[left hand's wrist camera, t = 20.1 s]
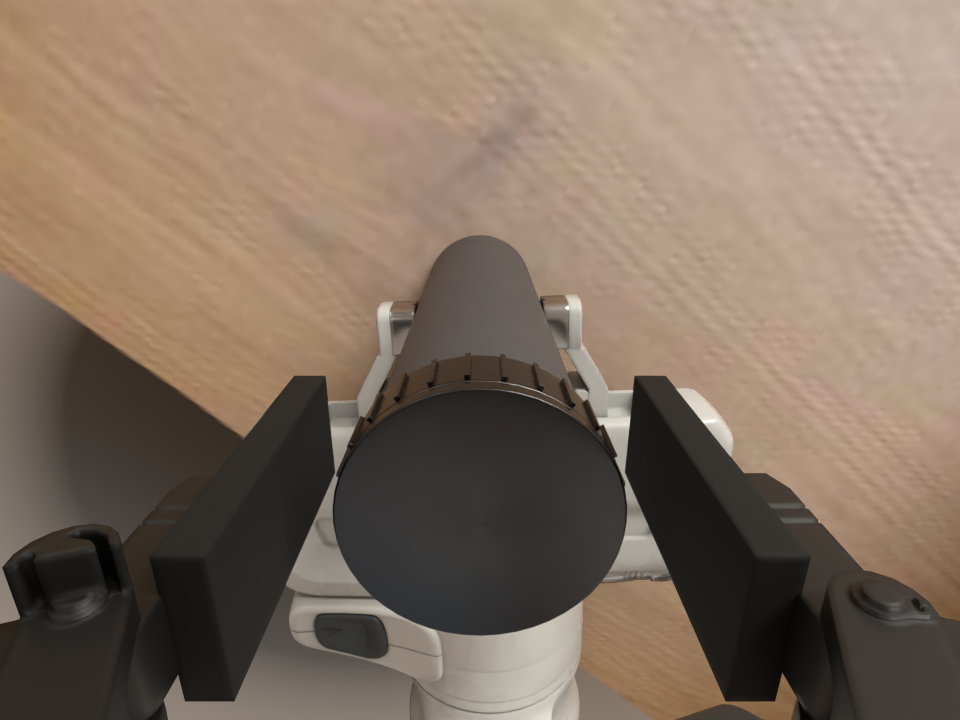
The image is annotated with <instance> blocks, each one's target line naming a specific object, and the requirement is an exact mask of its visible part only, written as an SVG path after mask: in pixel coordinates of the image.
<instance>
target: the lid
mask: <svg viewBox="0 0 960 720" xmlns="http://www.w3.org/2000/svg"><path fill="white" fill-rule="evenodd" d="M615 457H617V453H616V451H615V449H614V447H613V444H612V442H611V440H610V438H609V435H608V433H607V431H606V429H605V426H604V425H601V426H600V425H599V423H598V420H597V418H596V416H595V413H594V411H593V409H592V406H591V404H590V402H589V401H588V400H587V399H586V400H585V401H583V400H582V399H581V397H580V396H579V395H578V394H577V393H576V392H575V391H574V390H573V389H571V388H570V387H569V384H568V381H567V380H566V379H564V378H563V379H562V380H560V379H558V378H557V377H555V376H553V375H552V374H550V373H549V372H547V371H545V370H542V369H540V368H539V364H537V363H533V365H531V364H528V363H525V362H521V361H518V360H515V359H510V358H506V355H505V354H500V357H498V356H483V355H475V356H471V353H465V356H461V357H456V358H451V359H445V360H441V361H437V359H434V360H432V361H431V364H429V365H426V366H424V367H422V368H420V369H418V370H415V371H413V372H411V373H409V374H408V375H407V373H406V372H405V373H403V374H401V377H400V380H399V381H397V382H396V383H394V384H393V385H392V386H391V387H390V388H388V389H387V390H386V391H385V392H384V393H383V394H382V393H381V392H379V393H378V394H377V395H376V397H375V400H374V402H373V405H372V406H371V408H370V409H369V411H368V413H367V414H366V416H365V417H362V416H360V418H359V420H358V422H357V424H356V427H355V429H354V431H353V433H352V436H351V438H350V440H349V442H348V445H347V450H346V452H345V454H344V457H343V459H342V461H341V464H340V466H339V468H338V470H337V473H336V477H338V480H337V484H336V487H335V491H334V499H333V525H334V530H335V535H336V540H337V543H338V546H339V548H340V551H341V554H342V556H343V558H344V560H345V562H346V564H347V566H348V568H349V569H350V571H351V572H352V574H353V575H354V576H355V578H356V579H357V581H358V582H359V583H360V584H361V585H362V586H363V588H364V589H365V590H366V591H367V592H368V593H369V594H370V595H371V596H372V597H374V598H375V599H376V600H377V601H379V602H380V603H381V604H382V605H383V606H385V607H386V608H388V609H390V610H391V611H393V612H394V613H396V614H397V615H399V616H401V617H403V618H405V619H407V620H409V621H411V622H414V623H416V624H419V625H422V626H424V627H427V628H430V629H434V630H438V631H442V632H446V633H453V634H460V635H475V636H486V635H500V634H507V633H513V632H518V631H522V630H525V629H529V628H533V627H535V626H538V625H541V624H543V623H546V622H548V621H551V620H552V619H554V618H556V617H558V616H560V615H562V614H564V613H566V612H567V611H569V610H570V609H572V608H573V607H575V606H576V605H578V604H579V603H580V602H581V601H582V600H584V599H585V598H586V597H587V596H588V595H589V594H591V593H592V592H593V590H594V589H595V588H596V587H597V586H598V585H599V584H600V583H601V582H602V580H603V579H604V578H605V576H606V575H607V573H608V572H609V570H610V569H611V567H612V565H613V564H614V562H615V560H616V558H617V556H618V554H619V551H620V548H621V545H622V542H623V539H624V535H625V529H626V523H627V500H626V493H625V486H626V485H625V481H624V478H623V476H622V474H621V471H620V469H619V467H618V465H617V462H616V460H615Z"/></svg>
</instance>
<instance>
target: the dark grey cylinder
mask: <svg viewBox="0 0 960 720" xmlns="http://www.w3.org/2000/svg"><path fill="white" fill-rule="evenodd" d="M465 353H471V356H475V355H483V356H498V357H500V354H505V355H506V358H510V359H515V360H518V361H521V362H525V363H528V364H531V365H533V363H537V364H539V368H540V369H542V370H545V371H547V372H549V373H550V374H552V375H553V376H555V377H557V378H558V379H560V380H562V379H563V378H564V379H566V380H567V381H568V384H569V387H570V388H571V389H573V387H572V385H571V382H570V380H569V377H568V374H567V372H566V369H565V367H564V364H563V361H562V359H561V356H560V354H559V351H558V348H557V346H556V343H555V341H554V338H553V335H552V333H551V330H550V327H549V325H548V322H547V320H546V317H545V314H544V312H543V309H542V307H541V304H540V301H539V299H538V296H537V294H536V291H535V288H534V286H533V283H532V281H531V278H530V275H529V273H528V270H527V268H526V265H525V263H524V261H523V259H522V258H521V256H520V255H519V254H518V252H517V251H516V250H515V249H514V248H512V247H511V246H510V245H509V244H507V243H505V242H504V241H502V240H499V239H497V238H493V237H490V236H470V237H466V238H463V239H460V240H458V241H456V242H454V243H453V244H451V245H450V246H448V247H447V248H446V249H445V250H444V251H443V252H442V253H441V254H440V256H439V257H438V258H437V260H436V262H435V264H434V266H433V269H432V272H431V274H430V277H429V279H428V282H427V285H426V287H425V290H424V292H423V295H422V298H421V300H420V303H419V306H418V308H417V311H416V313H415V316H414V319H413V321H412V324H411V327H410V329H409V332H408V334H407V337H406V340H405V342H404V345H403V348H402V350H401V353H400V355H399V358H398V361H397V363H396V366H395V368H394V371H393V374H392V376H391V379H390V382H389V384H388V387H387V389H388V388H390V387H391V386H392V385H393V384H394V383H396V382H397V381H399V380H400V377H401V374H403V373H405V372H406V373H407V375H408V374H409V373H411V372H413V371H415V370H418V369H420V368H422V367H424V366H426V365H429V364H431V361H432V360H434V359H437V361H441V360H445V359H451V358H456V357H461V356H465ZM387 389H386V390H387Z"/></svg>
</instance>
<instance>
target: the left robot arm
mask: <svg viewBox="0 0 960 720" xmlns="http://www.w3.org/2000/svg"><path fill="white" fill-rule="evenodd" d="M334 474H335V465H334V455H333V446H332V436H331V426H330V416H329V407H328V397H327V387H326V377H325V376H294V377H293V378H292V379H291V381H290V382H289V383H288V384H287V386H286V387H285V388H284V389H283V391H282V392H281V393H280V394H279V396H278V397H277V398H276V399H275V401H274V402H273V403H272V404H271V406H270V407H269V408H268V409H267V411H266V412H265V413H264V414H263V416H262V417H261V418H260V419H259V421H258V422H257V423H256V424H255V426H254V427H253V428H252V429H251V431H250V432H249V433H248V434H247V436H246V437H245V438H244V439H243V440H242V442H241V443H240V444H239V446H238V447H237V448H236V449H235V450H234V452H233V453H232V454H231V455H230V457H229V458H228V459H227V460H226V462H225V463H224V464H223V465H222V467H221V468H220V469H219V470H218V472H217V473H216V474H215V475H194V476H193V477H191V478H189V479H188V480H186V481H185V482H183V483H181V484H180V485H178V486H177V487H175V488H173V489H172V490H170V492H169V493H168V494H167V495H166V496H165V497H164V498H163V499H162V501H161V502H160V503H159V504H158V505H157V506H156V509H155V511H152V512H151V513H150V514H149V515H148V516H147V517H146V518H145V520H144V521H143V524H142V525H139V526H138V527H137V528H136V530H135V531H134V532H133V533H132V534H131V535H130V536H129V537H128V539H127V540H126V541H125V542H124V543H123V544H122V543H121V540H120V536H119V533H118V532H117V531H116V530H114V529H113V528H112V527H110V526H106V525H99V524H88V525H79V526H73V527H69V528H66V529H62V530H59V531H55V532H52V533H50V534H48V535H45V536H43V537H41V538H39V539H37V540H35V541H32V542H31V543H29V544H28V545H26V546H25V547H23V548H22V549H20V550H19V551H18V552H16V553H15V554H13V556H12V557H11V558H10V559H9V560H8V561H7V563H6V564H5V565H4V566H3V567H2V568H3V571H4V574H5V577H6V579H7V582H8V585H9V587H10V590H11V593H12V596H13V599H14V601H15V604H16V607H17V610H18V612H19V615H20V619H19V620H15V621H12V622H7V623H2V624H0V720H168V718H167V712H166V707H165V704H164V698H165V696H166V695H167V693H168V691H169V689H170V688H171V686H172V684H173V682H174V681H175V679H176V677H177V675H179V679H180V683H181V687H182V691H183V695H184V699H185V701H235V699H236V696H237V694H238V692H239V689H240V687H241V685H242V683H243V680H244V678H245V676H246V674H247V671H248V669H249V667H250V665H251V662H252V660H253V658H254V655H255V653H256V651H257V649H258V646H259V644H260V642H261V640H262V637H263V635H264V633H265V631H266V628H267V626H268V624H269V622H270V619H271V617H272V615H273V612H274V610H275V608H276V606H277V603H278V601H279V599H280V597H281V594H282V592H283V590H284V588H285V585H286V583H287V581H288V578H289V576H290V574H291V572H292V569H293V567H294V565H295V563H296V560H297V558H298V556H299V554H300V551H301V549H302V547H303V544H304V542H305V540H306V538H307V535H308V533H309V531H310V529H311V526H312V524H313V522H314V520H315V517H316V515H317V513H318V511H319V508H320V506H321V504H322V501H323V499H324V497H325V495H326V492H327V490H328V488H329V486H330V483H331V481H332V479H333V477H334ZM625 474H626V477H627V479H628V481H629V483H630V486H631V488H632V490H633V492H634V495H635V497H636V499H637V501H638V504H639V506H640V508H641V511H642V513H643V515H644V517H645V520H646V522H647V524H648V526H649V529H650V531H651V533H652V535H653V538H654V540H655V542H656V545H657V547H658V549H659V551H660V554H661V556H662V558H663V560H664V563H665V565H666V567H667V569H668V572H669V574H670V576H671V578H672V581H673V583H674V585H675V588H676V590H677V592H678V594H679V597H680V599H681V601H682V603H683V606H684V608H685V610H686V612H687V615H688V617H689V619H690V622H691V624H692V626H693V628H694V631H695V633H696V635H697V637H698V640H699V642H700V644H701V646H702V649H703V651H704V653H705V656H706V658H707V660H708V662H709V665H710V667H711V669H712V671H713V674H714V676H715V678H716V680H717V683H718V685H719V687H720V689H721V692H722V694H723V696H724V699H725V701H775V699H776V695H777V691H778V687H779V683H780V679H781V675H782V672H783V674H784V676H785V678H786V679H787V681H788V683H789V685H790V686H791V688H792V690H793V692H794V693H795V695H796V697H797V700H796V704H795V707H794V711H793V715H792V718H791V720H960V621H956V620H951V619H947V618H943V617H940V616H939V615H938V613H937V612H936V610H935V609H934V608H933V606H932V605H931V604H930V602H928V601H927V600H926V599H925V598H923V597H922V596H921V595H920V594H918V593H917V592H916V591H915V590H913V589H912V588H910V587H908V586H906V585H904V584H902V583H900V582H898V581H896V580H895V579H893V578H890V577H886V576H883V575H880V574H877V573H874V572H870V571H864V570H863V569H862V568H861V567H860V566H859V565H858V564H857V562H856V561H855V560H854V559H853V558H852V557H851V556H850V555H849V554H848V552H847V551H846V550H845V549H844V548H843V547H842V546H841V545H840V544H839V543H838V541H837V540H836V539H835V538H834V537H833V536H832V535H831V534H830V533H829V531H828V530H827V529H826V528H825V527H824V526H823V525H822V524H821V523H818V519H817V518H816V517H815V516H814V515H813V514H812V513H811V511H810V510H809V509H805V505H804V504H803V503H802V501H801V500H800V499H799V498H798V497H797V496H796V495H795V494H794V493H793V491H792V490H791V489H790V488H789V487H787V486H785V485H784V484H782V483H780V482H779V481H777V480H776V479H774V478H772V477H771V476H769V475H768V474H766V473H743V472H742V470H741V469H740V468H739V467H738V465H737V464H736V463H735V462H734V460H733V459H732V458H731V457H730V455H729V454H728V453H727V452H726V450H725V449H724V448H723V447H722V445H721V444H720V443H719V442H718V440H717V439H716V438H715V437H714V436H713V434H712V433H711V432H710V431H709V429H708V428H707V427H706V426H705V424H704V423H703V422H702V421H701V419H700V418H699V417H698V416H697V414H696V413H695V412H694V411H693V409H692V408H691V407H690V406H689V404H688V403H687V402H686V401H685V399H684V398H683V397H682V396H681V394H680V393H679V392H678V391H677V389H676V388H675V387H674V386H673V384H672V383H671V382H670V381H669V379H668V378H667V377H666V376H635V377H634V387H633V397H632V407H631V416H630V426H629V436H628V445H627V455H626V465H625Z"/></svg>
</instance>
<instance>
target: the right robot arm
mask: <svg viewBox="0 0 960 720" xmlns="http://www.w3.org/2000/svg"><path fill="white" fill-rule="evenodd" d="M540 304H541V307H542V309H543V312H544V314H545V317H546V320H547V322H548V325H549V327H550V330H551V333H552V335H553V338H554V341H555V343H556V346H557V348H558V349H565V351H566V353H567V354H568V356H569V358H570V359H571V361H572V363H573V364H574V366H575V368H576V369H577V371H569V372H568V373H567V374H568V377H569V380H570V382H571V385H572V387H573V390H574V391H575V392H576V393H577V394H578V395H579V396H580V397H581V399H582V400H583V401H585V400H586V399H587V400H588V401H589V402H590V404H591V406H592V409H593V411H594V413H595V416H596V418H597V420H598V423H599V425H600V426H601V425H604V426H605V429H606V431H607V433H608V435H609V438H610V440H611V442H612V444H613V447H614V449H615V451H616V453H617V457H615V460H616V462H617V465H618V467H619V469H620V471H621V474H622V476H623V478H624V481H625V485H626V486H625V493H626V500H627V523H626V529H625V535H624V539H623V542H622V545H621V548H620V551H619V554H618V556H617V558H616V560H615V562H614V564H613V565H612V567H611V569H610V570H609V572H608V573H607V575H606V576H605V578H604V579H603V580H602V582H601V583H618V582H624V581H625V582H626V581H632V580H635V579H636V580H641V579H642V580H648V579H650V580H651V581H669V580H672V578H671V576H670V574H669V572H668V569H667V567H666V565H665V563H664V560H663V558H662V556H661V554H660V551H659V549H658V547H657V545H656V542H655V540H654V538H653V535H652V533H651V531H650V529H649V526H648V524H647V522H646V520H645V517H644V515H643V513H642V511H641V508H640V506H639V504H638V501H637V499H636V497H635V495H634V492H633V490H632V488H631V486H630V483H629V481H628V479H627V477H626V474H625V465H626V455H627V445H628V436H629V426H630V416H631V407H632V397H633V390H613V391H609V389H608V387H607V385H606V383H605V381H604V379H603V377H602V376H601V374H600V372H599V370H598V368H597V366H596V365H595V363H594V361H593V360H592V358H591V356H590V355H589V353H588V351H587V350H586V348H585V346H584V345H583V343H582V306H581V301H580V299H579V298H578V296H577V295H555V296H540ZM418 306H419V304H418V301H406V302H393V301H392V302H381V304H380V306H379V307H378V309H377V329H378V339H379V348H380V351H379V353H378V355H377V357H376V360H375V362H374V364H373V366H372V368H371V370H370V372H369V374H368V376H367V378H366V380H365V382H364V384H363V386H362V388H361V390H360V392H359V394H358V397H357V400H337V401H328V407H329V416H330V426H331V436H332V446H333V455H334V465H335V474H334V477H333V479H332V481H331V483H330V486H329V488H328V490H327V492H326V495H325V497H324V499H323V501H322V504H321V506H320V508H319V511H318V513H317V515H316V517H315V520H314V522H313V524H312V526H311V529H310V531H309V533H308V535H307V538H306V540H305V542H304V544H303V547H302V549H301V551H300V554H299V556H298V558H297V560H296V563H295V565H294V567H293V569H292V572H291V574H290V576H289V578H288V581H287V583H286V586H287V587H289V588H290V589H293V590H295V593H294V597H293V601H292V605H291V609H290V614H289V625H290V630H291V633H292V635H293V637H294V639H295V640H296V641H297V642H299V643H301V644H302V645H305V646H307V647H311V648H315V649H319V650H324V651H329V652H334V653H338V654H343V655H347V656H351V657H355V658H359V659H363V660H366V661H370V662H373V663H377V664H380V665H383V666H386V667H389V668H392V669H394V670H397V671H399V672H402V673H404V674H407V675H409V676H411V678H412V680H413V685H412V690H411V696H410V719H411V720H579V717H580V704H579V693H578V687H577V684H576V680H575V677H574V676H575V673H576V671H577V668H578V664H579V661H580V655H581V649H582V619H583V600H582V601H581V602H580V603H579V604H578V605H576V606H575V607H573V608H572V609H570V610H569V611H567V612H566V613H564V614H562V615H560V616H558V617H556V618H554V619H552V620H551V621H548V622H546V623H543V624H541V625H538V626H535V627H533V628H529V629H525V630H522V631H518V632H513V633H507V634H500V635H486V636H475V635H460V634H453V633H446V632H442V631H438V630H434V629H430V628H427V627H424V626H422V625H419V624H416V623H414V622H411V621H409V620H407V619H405V618H403V617H401V616H399V615H397V614H396V613H394V612H393V611H391V610H390V609H388V608H386V607H385V606H383V605H382V604H381V603H380V602H379V601H377V600H376V599H375V598H374V597H372V596H371V595H370V594H369V593H368V592H367V591H366V590H365V589H364V588H363V586H362V585H361V584H360V583H359V582H358V581H357V579H356V578H355V576H354V575H353V574H352V572H351V571H350V569H349V568H348V566H347V564H346V562H345V560H344V558H343V556H342V554H341V551H340V548H339V546H338V543H337V540H336V535H335V530H334V525H333V499H334V491H335V487H336V484H337V480H338V477H336V473H337V470H338V468H339V466H340V464H341V461H342V459H343V457H344V454H345V452H346V450H347V445H348V442H349V440H350V438H351V436H352V433H353V431H354V429H355V427H356V424H357V422H358V420H359V418H360V416H362V417H365V416H366V414H367V413H368V411H369V409H370V408H371V406H372V405H373V402H374V400H375V397H376V395H377V394H378V393H379V392H381V393H382V394H383V393H384V392H385V391H386V389H387V387H388V384H389V382H390V379H391V378H387V379H386V377H387V375H388V373H389V371H390V369H391V367H392V365H393V362H394V360H395V358H396V356H397V355H400V353H401V350H402V348H403V345H404V342H405V340H406V337H407V334H408V332H409V329H410V327H411V324H412V321H413V319H414V316H415V313H416V311H417V308H418ZM385 379H386V380H385ZM676 389H677V391H678V392H679V393H680V394H681V396H682V397H683V398H684V399H685V401H686V402H687V403H688V404H689V406H690V407H691V408H692V409H693V411H694V412H695V413H696V414H697V416H698V417H699V418H700V419H701V421H702V422H703V423H704V424H705V426H706V427H707V428H708V429H709V431H710V432H711V433H712V434H713V436H714V437H715V438H716V439H717V440H718V442H719V443H720V444H721V445H722V447H723V448H724V449H725V450H726V452H727V453H728V454H729V455H730V457H731V456H732V450H733V437H732V434H731V431H730V429H729V427H728V426H727V424H726V423H725V421H724V420H723V418H722V417H721V416H720V415H719V413H718V412H717V411H716V410H715V409H714V408H713V406H712V405H711V404H710V403H708V402H707V401H706V400H705V399H704V398H703V397H702V396H701V395H700V394H699V393H698V392H696V391H695V390H693V389H690V388H676ZM266 411H267V410H266ZM266 411H265V412H266ZM265 412H264V413H265ZM262 416H263V415H262ZM262 416H261V417H262ZM261 417H260V418H261ZM260 418H259V419H260ZM259 419H258V420H257V421H256V422H255V423H254V425H253V426H252V427H251V429H252V428H253V427H254V426H255V424H256V423H257V422H258V421H259ZM251 429H250V430H249V431H248V433H249V432H250V431H251ZM248 433H247V434H248ZM247 434H246V436H247ZM246 436H245V437H246ZM245 437H244V438H245ZM676 720H763V719H761V718H759V717H757V716H756V715H754V714H752V713H750V712H748V711H746V710H744V709H742V708H740V707H737V706H733V705H728V704H723V705H718V706H715V707H712V708H709V709H706V710H703V711H700V712H697V713H694V714H691V715H688V716H685V717H682V718H679V719H676Z"/></svg>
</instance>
